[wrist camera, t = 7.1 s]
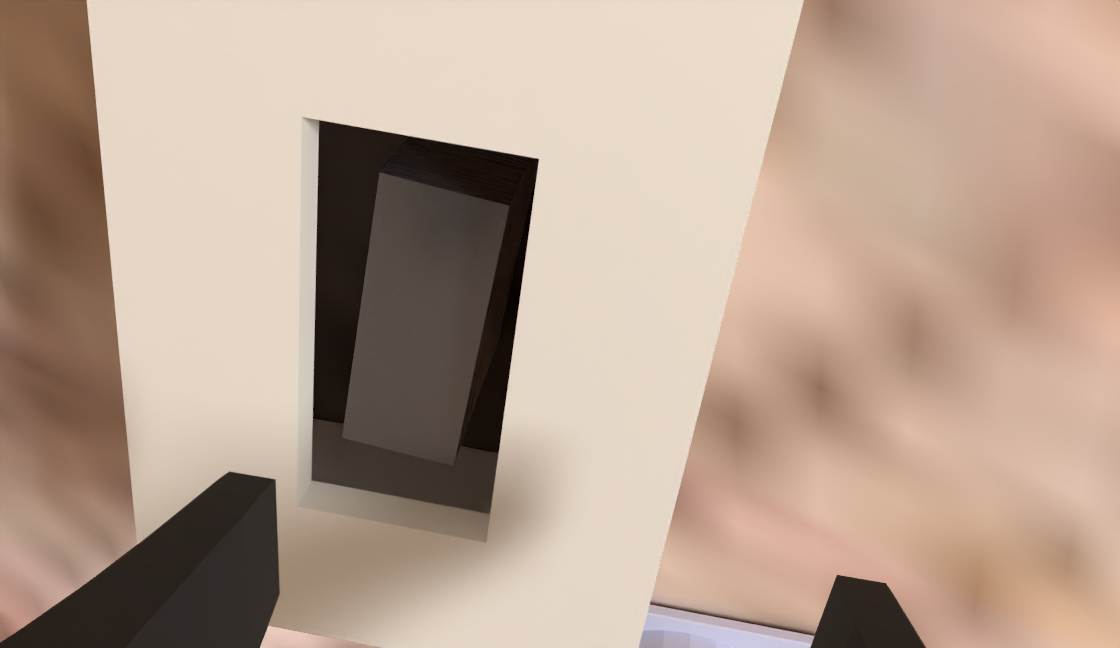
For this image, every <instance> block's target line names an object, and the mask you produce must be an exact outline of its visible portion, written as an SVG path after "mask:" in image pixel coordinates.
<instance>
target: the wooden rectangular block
mask: <svg viewBox="0 0 1120 648" xmlns="http://www.w3.org/2000/svg"><path fill="white" fill-rule="evenodd" d="M538 162H539V159H537V158H532V157H526V156H520V155H515V154H509V153H503V152H498V151H492V150H486V149H481V148H475V147H469V146H464V145H458V144H452V143H447V142H441V141H435V140H430V139H424V138H418V137H413V136H410V137H409V138H408V139H407V140H406V141H405V143H404V144H403V145H402V146H401V147H400V149H399V150H398V151H397V152H396V153H395V155H394V156H393V157H392V158H391V159H390V160H389V162H388V163H387V164H386V165H385V166H384V168H383V169H382V170H381V171H380V172H379V179H378V186H377V193H376V200H375V207H374V215H373V222H372V229H371V236H370V243H369V250H368V257H367V264H366V271H365V278H364V285H363V292H362V300H361V307H360V314H359V321H358V328H357V335H356V342H355V349H354V356H353V363H352V370H351V377H350V384H349V392H348V399H347V406H346V413H345V420H344V427H343V434H342V438H345V439H349V440H353V441H357V442H360V443H364V444H368V445H372V446H376V447H380V448H384V449H388V450H392V451H396V452H399V453H403V454H407V455H411V456H415V457H419V458H423V459H427V460H431V461H434V462H438V463H442V464H446V465H450V466H454V463H455V461H456V458H457V455H458V452H459V449H460V446H461V444H462V441H463V438H464V435H465V432H466V430H467V427H468V424H469V421H470V418H471V416H472V413H473V410H474V407H475V404H476V402H477V399H478V396H479V393H480V390H481V388H482V385H483V382H484V379H485V376H486V374H487V371H488V368H489V365H490V362H491V360H492V357H493V354H494V351H495V348H496V346H497V343H498V340H499V335H500V331H501V326H502V322H503V317H504V313H505V309H506V304H507V300H508V295H509V291H510V286H511V282H512V278H513V273H514V269H515V264H516V260H517V255H518V251H519V246H520V242H521V238H522V233H523V229H524V224H525V220H526V215H527V211H528V207H529V202H530V198H531V193H532V189H533V184H534V180H535V176H536V171H537V167H538Z"/></svg>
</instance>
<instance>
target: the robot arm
mask: <svg viewBox="0 0 1120 648" xmlns="http://www.w3.org/2000/svg"><path fill="white" fill-rule="evenodd" d="M279 595H280V586H279V559H278V532H277V505H276V479H271V478H265V477H259V476H253V475H247V474H241V473H235V472H230V471H229V472H228V473H226V474H225V475H223V476H222V477H221V478H219V479H218V480H217V481H216V482H214V483H213V484H212V485H211V486H209V487H208V488H207V489H206V490H204V491H203V492H202V493H201V494H199V495H198V496H197V497H196V498H195V499H193V500H192V501H191V502H190V503H188V504H187V505H186V506H185V507H184V508H182V509H181V510H180V511H179V512H177V513H176V514H175V515H174V516H172V517H171V518H170V519H169V520H168V521H166V522H165V523H164V524H163V525H161V526H160V527H159V528H158V529H156V530H155V531H154V532H153V533H151V534H150V535H149V536H148V537H146V538H145V539H144V540H143V541H141V542H140V543H139V544H137V545H136V546H135V547H133V548H132V549H131V550H130V551H128V552H127V553H126V554H124V555H123V556H122V557H120V558H119V559H118V560H116V561H115V562H114V563H113V564H111V565H110V566H109V567H107V568H106V569H105V570H103V571H102V572H101V573H99V574H98V575H97V576H96V577H94V578H93V579H91V580H90V581H89V582H87V583H86V584H85V585H83V586H82V587H81V588H79V589H78V590H76V591H75V592H73V593H72V594H71V595H69V596H68V597H66V598H65V599H63V600H62V601H61V602H59V603H58V604H56V605H55V606H53V607H52V608H51V609H49V610H48V611H46V612H45V613H43V614H42V615H41V616H39V617H38V618H36V619H35V620H33V621H32V622H31V623H29V624H28V625H26V626H25V627H23V628H22V629H20V630H19V631H17V632H16V633H14V634H13V635H11V636H10V637H8V638H7V639H5V640H3V641H2V642H0V648H260V645H261V643H262V640H263V638H264V635H265V633H266V630H267V627H268V625H269V622H270V619H271V616H272V614H273V611H274V608H275V606H276V603H277V600H278V597H279ZM639 648H926V647H925V645H924V644H923V642H922V640H921V639H920V637H919V636H918V634H917V632H916V631H915V629H914V627H913V626H912V624H911V622H910V621H909V619H908V618H907V616H906V614H905V613H904V611H903V609H902V608H901V606H900V604H899V603H898V601H897V600H896V598H895V596H894V595H893V593H892V592H891V590H890V589H889V587H888V586H887V584H886V583H881V582H875V581H869V580H863V579H857V578H852V577H846V576H840V575H837V577H836V579H835V582H834V585H833V587H832V590H831V593H830V596H829V598H828V601H827V604H826V606H825V609H824V612H823V615H822V617H821V620H820V623H819V626H818V628H817V631H816V634H815V636H812V635H807V634H801V633H796V632H791V631H786V630H781V629H775V628H770V627H765V626H760V625H755V624H749V623H744V622H739V621H734V620H728V619H723V618H718V617H713V616H708V615H702V614H697V613H692V612H687V611H682V610H676V609H671V608H666V607H661V606H656V605H649V609H648V613H647V617H646V621H645V625H644V628H643V632H642V636H641V640H640V644H639Z"/></svg>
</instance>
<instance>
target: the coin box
mask: <svg viewBox="0 0 1120 648" xmlns="http://www.w3.org/2000/svg"><path fill="white" fill-rule="evenodd" d="M803 1H804V0H87V10H88V20H89V31H90V42H91V53H92V64H93V75H94V85H95V96H96V107H97V118H98V129H99V140H100V150H101V161H102V172H103V183H104V194H105V204H106V215H107V226H108V237H109V248H110V259H111V269H112V280H113V291H114V302H115V313H116V324H117V334H118V345H119V356H120V367H121V378H122V389H123V399H124V410H125V421H126V432H127V443H128V453H129V464H130V475H131V486H132V497H133V508H134V518H135V529H136V540H137V544H139V543H140V542H141V541H143V540H144V539H145V538H146V537H148V536H149V535H150V534H151V533H153V532H154V531H155V530H156V529H158V528H159V527H160V526H161V525H163V524H164V523H165V522H166V521H168V520H169V519H170V518H171V517H172V516H174V515H175V514H176V513H177V512H179V511H180V510H181V509H182V508H184V507H185V506H186V505H187V504H188V503H190V502H191V501H192V500H193V499H195V498H196V497H197V496H198V495H199V494H201V493H202V492H203V491H204V490H206V489H207V488H208V487H209V486H211V485H212V484H213V483H214V482H216V481H217V480H218V479H219V478H221V477H222V476H223V475H225V474H226V473H228V472H229V471H230V472H235V473H241V474H247V475H253V476H259V477H265V478H271V479H276V505H277V532H278V559H279V586H280V595H279V597H278V600H277V603H276V606H275V608H274V611H273V614H272V616H271V619H270V622H269V625H268V626H273V627H278V628H284V629H289V630H294V631H299V632H304V633H309V634H314V635H319V636H325V637H330V638H335V639H340V640H345V641H350V642H355V643H360V644H365V645H371V646H376V647H381V648H639V644H640V640H641V636H642V632H643V628H644V625H645V621H646V617H647V613H648V609H649V605H650V601H651V597H652V593H653V589H654V585H655V581H656V577H657V574H658V570H659V566H660V562H661V558H662V554H663V550H664V546H665V542H666V538H667V534H668V530H669V527H670V523H671V519H672V515H673V511H674V507H675V503H676V499H677V495H678V491H679V487H680V483H681V479H682V476H683V472H684V468H685V464H686V460H687V456H688V452H689V448H690V444H691V440H692V436H693V432H694V428H695V425H696V421H697V417H698V413H699V409H700V405H701V401H702V397H703V393H704V389H705V385H706V381H707V378H708V374H709V370H710V366H711V362H712V358H713V354H714V350H715V346H716V342H717V338H718V334H719V330H720V327H721V323H722V319H723V315H724V311H725V307H726V303H727V299H728V295H729V291H730V287H731V283H732V280H733V276H734V272H735V268H736V264H737V260H738V256H739V252H740V248H741V244H742V240H743V236H744V232H745V229H746V225H747V221H748V217H749V213H750V209H751V205H752V201H753V197H754V193H755V189H756V185H757V181H758V178H759V174H760V170H761V166H762V162H763V158H764V154H765V150H766V146H767V142H768V138H769V134H770V131H771V127H772V123H773V119H774V115H775V111H776V107H777V103H778V99H779V95H780V91H781V87H782V83H783V80H784V76H785V72H786V68H787V64H788V60H789V56H790V52H791V48H792V44H793V40H794V36H795V32H796V29H797V25H798V21H799V17H800V13H801V9H802V5H803ZM319 120H322V121H327V122H333V123H339V124H344V125H350V126H356V127H361V128H367V129H373V130H379V131H384V132H390V133H396V134H401V135H407V136H413V137H418V138H424V139H430V140H435V141H441V142H447V143H452V144H458V145H464V146H469V147H475V148H481V149H486V150H492V151H498V152H503V153H509V154H515V155H520V156H526V157H532V158H537V159H539V163H538V170H537V178H536V185H535V192H534V199H533V207H532V214H531V221H530V228H529V236H528V243H527V250H526V258H525V265H524V272H523V279H522V287H521V294H520V301H519V309H518V316H517V323H516V330H515V338H514V345H513V352H512V360H511V367H510V374H509V381H508V389H507V396H506V403H505V410H504V418H503V425H502V432H501V440H500V447H499V453H495V452H490V451H485V450H479V449H474V448H469V447H463V446H460V449H459V452H458V455H457V458H456V461H455V463H454V466H450V465H446V464H442V463H438V462H434V461H431V460H427V459H423V458H419V457H415V456H411V455H407V454H403V453H399V452H396V451H392V450H388V449H384V448H380V447H376V446H372V445H368V444H364V443H360V442H357V441H353V440H349V439H345V438H342V434H343V427H344V424H340V423H335V422H330V421H324V420H319V419H314V418H313V383H314V336H315V290H316V244H317V197H318V151H319Z"/></svg>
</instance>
